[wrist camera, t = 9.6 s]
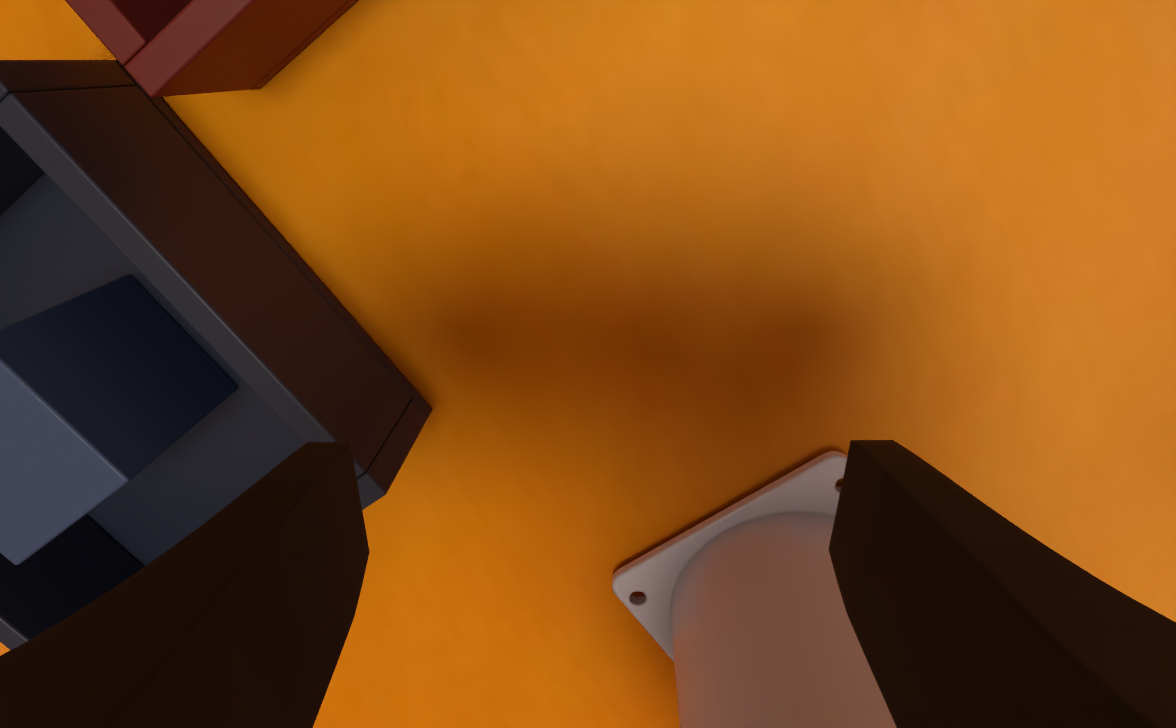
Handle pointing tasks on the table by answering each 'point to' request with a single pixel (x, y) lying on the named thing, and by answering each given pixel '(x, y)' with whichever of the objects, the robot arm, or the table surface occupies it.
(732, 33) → the table surface
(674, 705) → the table surface
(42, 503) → the blue block
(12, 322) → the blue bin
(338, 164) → the table surface
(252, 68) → the red bin
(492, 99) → the table surface
